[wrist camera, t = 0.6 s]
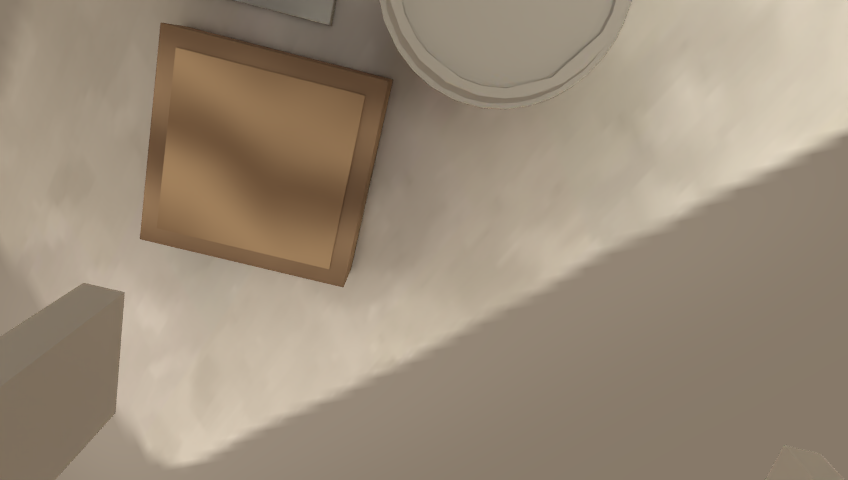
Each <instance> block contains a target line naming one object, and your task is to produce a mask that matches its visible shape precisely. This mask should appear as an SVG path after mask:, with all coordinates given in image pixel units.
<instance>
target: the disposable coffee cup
mask: <svg viewBox="0 0 848 480" xmlns="http://www.w3.org/2000/svg"><path fill="white" fill-rule="evenodd" d="M379 1H380V5H381V10H382V14H383V19H384V22H385V24H386V26H387V29H388V31H389V33H390V35H391V37H392V39H393V42H394V44H395V46H396V48H397V50H398V52H399V53H400V54H401V55H402V57H403V58H404V59H405V61H406V62H407V63H408V65H409V66H410V67H411V69H412V70H413V71H414V72H415V73H416V74H417V75H419V76H420V77H421V78H422V79H423V80H424V81H425V82H426V83H427V84H428V85H430V86H431V87H432V88H434V89H436V90H437V91H439V92H441V93H443V94H445V95H446V96H448V97H450V98H452V99H453V100H456V101H459V102H462V103H465V104H469V105H472V106H475V107H479V108H491V109H513V108H520V107H526V106H531V105H534V104H537V103H540V102H543V101H545V100H548V99H551V98H554V97H555V96H557V95H559V94H560V93H562V92H564V91H566V90H567V89H569V88H571V87H573V86H574V85H575V84H576V83H578V82H579V81H580V80H581V79H582V78H584V77H585V76H586V75H587V74H589V73H590V72H591V70H592V69H593V68H594V67H595V66H596V65H597V64H598V63H599V62H600V60H601V59H602V58H603V57H604V56H605V55H606V53H607V52H608V50H609V49H610V47H611V46H612V44H613V43H614V42H615V40H616V38H617V36H618V34H619V32H620V30H621V28H622V26H623V24H624V21H625V19H626V16H627V13H628V10H629V7H630V5H631V2H632V0H379Z"/></svg>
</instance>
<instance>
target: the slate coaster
mask: <svg viewBox="0 0 848 480" xmlns="http://www.w3.org/2000/svg"><path fill="white" fill-rule="evenodd" d="M234 1H238V2H242V3H245V4H249V5H253V6H257V7H261V8H265V9H268V10H272V11H276V12H280V13H284V14H288V15H291V16H295V17H299V18H303V19H307V20H311V21H315V22H318V23H322V24H326V25H330V26H332V20H333V15H334V9H335V4H336V0H234Z"/></svg>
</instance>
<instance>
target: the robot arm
mask: <svg viewBox="0 0 848 480" xmlns="http://www.w3.org/2000/svg"><path fill="white" fill-rule="evenodd" d="M124 293H125V292H121V291H117V290H112V289H108V288H104V287H99V286H95V285H91V284H86V283H83V284H81V285H80V286H78V287H76V288H75V289H73V290H72V291H70V292H69V293H67V294H66V295H64V296H62V297H61V298H59V299H58V300H56V301H55V302H53V303H52V304H50V305H49V306H47V307H45V308H44V309H42V310H41V311H39V312H38V313H36V314H35V315H33V316H32V317H30V318H28V319H27V320H25V321H24V322H22V323H21V324H19V325H18V326H16V327H15V328H13V329H11V330H10V331H8V332H7V333H5V334H4V335H3V336H1V337H0V480H55V479H56V478H57V477H58V476H59V475H60V474H61V473H62V472H63V471H64V469H65V468H66V467H67V466H68V465H69V464H70V462H72V461H73V460H74V458H75V457H76V456H77V455H78V454H79V453H80V452H81V451H82V450H83V448H84V447H85V446H86V445H87V444H88V443H89V442H90V441H91V440H92V439H93V437H94V436H95V435H96V434H97V433H98V432H99V430H100V429H102V427H103V426H104V425H105V424H106V423H107V422H108V421H109V420H110V419H111V417H112V416H113V415H114V414H115V412H116V398H117V385H118V372H119V359H120V346H121V333H122V320H123V307H124ZM765 480H845V479H844V478H843V477H842V476H841V475H840V474H839V473H838V472H837V471H836V470H835V469H834V468H833V466H832V465H831V464H830V463H829V462H828V461H827V460H826V459H825V458H824V457H823V456H822V455H821V454H820V453H816V452H812V451H807V450H803V449H799V448H794V447H790V446H786V445H784V446H783V448H782V450H781V452H780V453H779V455H778V457H777V459H776V461H775V462H774V464H773V466H772V468H771V470H770V471H769V473H768V475H767V477H766V479H765Z"/></svg>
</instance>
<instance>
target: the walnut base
mask: <svg viewBox="0 0 848 480" xmlns="http://www.w3.org/2000/svg"><path fill="white" fill-rule="evenodd" d="M392 81H393V80H392V79H388V78H384V77H380V76H376V75H372V74H369V73H365V72H361V71H357V70H353V69H349V68H345V67H341V66H337V65H334V64H330V63H326V62H322V61H318V60H314V59H310V58H306V57H302V56H299V55H295V54H291V53H287V52H283V51H279V50H275V49H271V48H267V47H264V46H260V45H256V44H252V43H248V42H244V41H240V40H236V39H232V38H229V37H225V36H221V35H217V34H213V33H209V32H205V31H201V30H197V29H194V28H190V27H186V26H179V25H173V24H166V23H161V25H160V36H159V46H158V56H157V67H156V77H155V88H154V98H153V108H152V119H151V129H150V139H149V150H148V160H147V171H146V181H145V191H144V202H143V212H142V223H141V233H140V239H142V240H146V241H150V242H155V243H159V244H163V245H167V246H171V247H176V248H180V249H184V250H188V251H193V252H197V253H201V254H205V255H209V256H214V257H218V258H222V259H226V260H230V261H235V262H239V263H243V264H247V265H252V266H256V267H260V268H264V269H268V270H273V271H277V272H281V273H285V274H289V275H294V276H298V277H302V278H306V279H311V280H315V281H319V282H323V283H327V284H332V285H336V286H340V287H344V284H345V282H346V280H347V277H348V275H349V273H350V270H351V267H352V262H353V258H354V253H355V249H356V244H357V240H358V235H359V231H360V226H361V222H362V217H363V213H364V208H365V203H366V199H367V194H368V190H369V185H370V181H371V176H372V172H373V167H374V163H375V158H376V154H377V149H378V145H379V140H380V136H381V131H382V127H383V122H384V118H385V113H386V109H387V104H388V100H389V95H390V90H391V86H392Z"/></svg>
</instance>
